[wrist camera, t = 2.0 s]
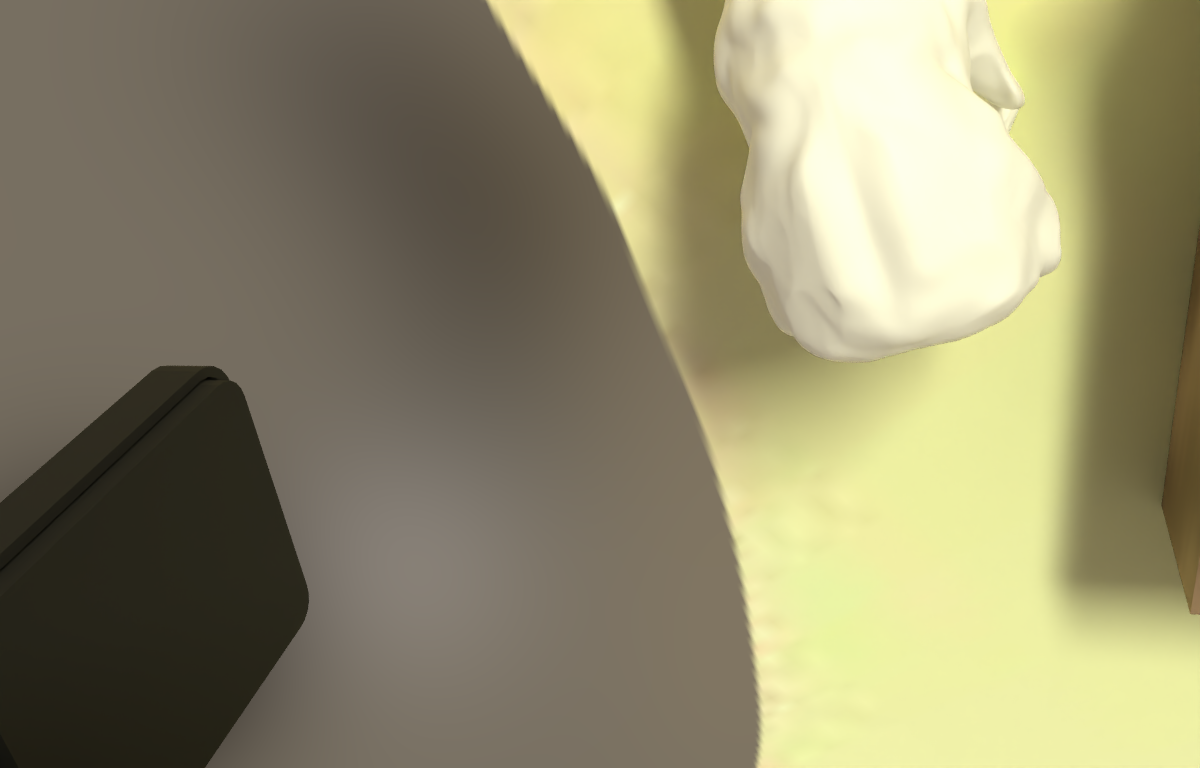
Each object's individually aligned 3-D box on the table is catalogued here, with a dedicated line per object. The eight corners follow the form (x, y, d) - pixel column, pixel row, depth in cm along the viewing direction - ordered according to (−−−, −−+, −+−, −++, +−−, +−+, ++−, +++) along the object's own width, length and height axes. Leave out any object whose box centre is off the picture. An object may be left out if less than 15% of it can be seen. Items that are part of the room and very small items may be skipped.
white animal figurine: (764, 429, 23) (532, -173, 20) (816, 284, 31) (655, -174, 27) (1091, 352, 21) (894, -358, 17) (1063, 214, 28) (921, -303, 24)
